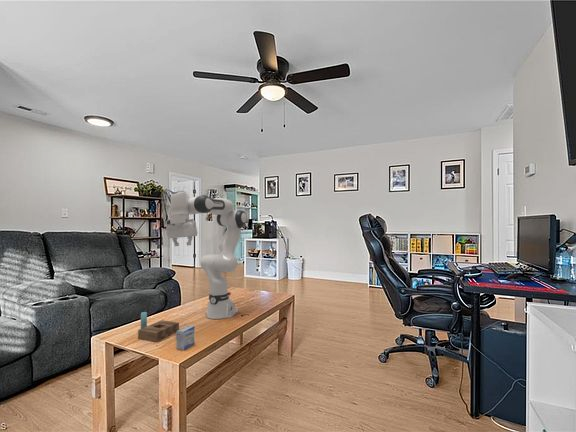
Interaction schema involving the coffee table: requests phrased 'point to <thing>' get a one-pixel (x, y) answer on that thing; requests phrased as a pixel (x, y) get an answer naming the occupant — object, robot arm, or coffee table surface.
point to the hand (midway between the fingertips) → (182, 245)
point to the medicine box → (185, 337)
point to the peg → (143, 319)
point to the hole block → (158, 331)
